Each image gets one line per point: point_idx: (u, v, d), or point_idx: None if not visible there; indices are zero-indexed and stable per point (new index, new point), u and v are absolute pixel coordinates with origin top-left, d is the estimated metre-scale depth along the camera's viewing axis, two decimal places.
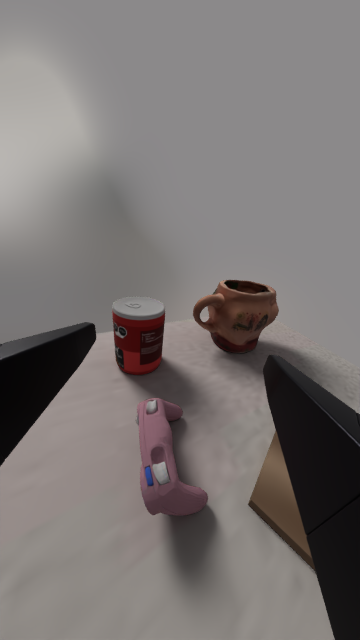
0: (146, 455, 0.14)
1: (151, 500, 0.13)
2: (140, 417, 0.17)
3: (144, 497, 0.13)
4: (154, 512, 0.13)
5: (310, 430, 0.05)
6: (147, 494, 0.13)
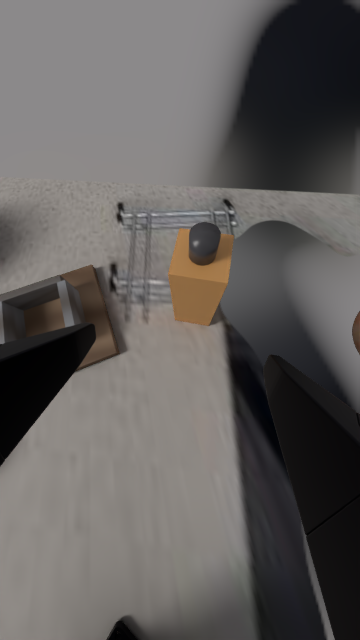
0: None
1: None
2: None
3: None
4: None
5: (310, 430, 0.05)
6: None
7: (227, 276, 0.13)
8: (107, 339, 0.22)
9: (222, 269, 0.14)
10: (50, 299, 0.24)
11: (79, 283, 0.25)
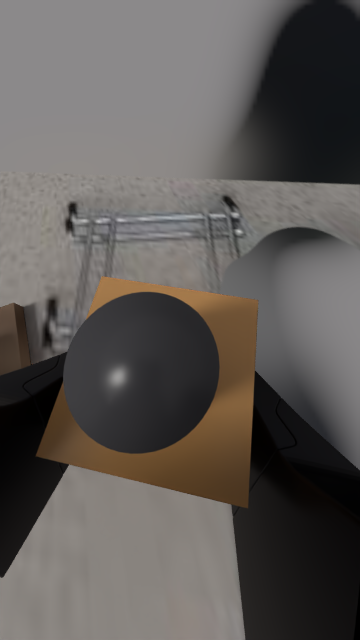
0: None
1: None
2: None
3: None
4: None
5: None
6: None
7: (244, 471, 0.04)
8: None
9: (227, 438, 0.04)
10: None
11: None
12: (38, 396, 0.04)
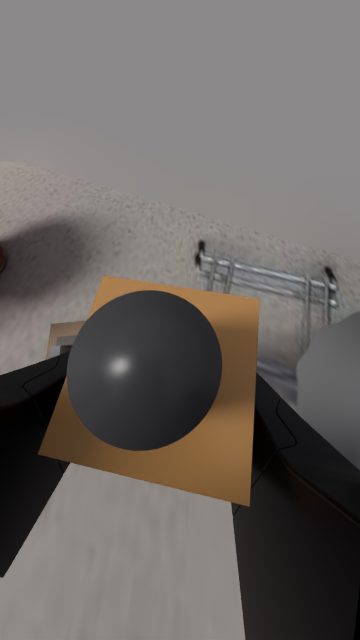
0: None
1: None
2: None
3: None
4: None
5: None
6: None
7: (246, 469, 0.04)
8: None
9: (229, 437, 0.04)
10: None
11: None
12: (38, 396, 0.04)
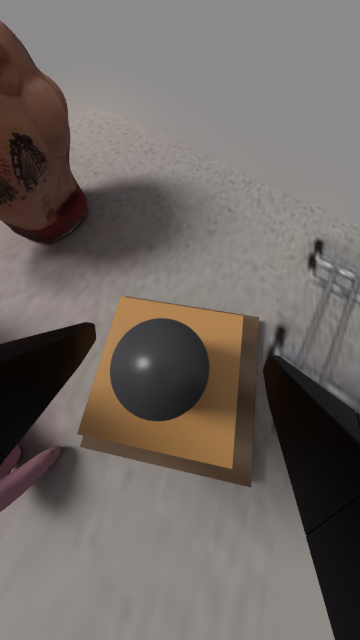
0: None
1: None
2: None
3: None
4: None
5: (310, 430, 0.05)
6: None
7: (230, 443, 0.05)
8: (244, 453, 0.14)
9: (218, 421, 0.05)
10: None
11: None
12: None
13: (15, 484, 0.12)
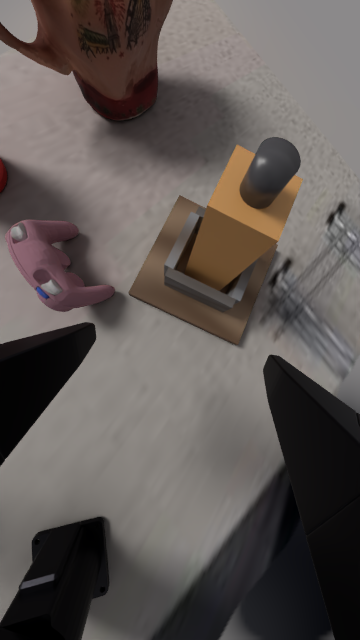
0: (31, 280, 0.15)
1: (55, 305, 0.16)
2: (9, 248, 0.15)
3: (48, 305, 0.16)
4: (64, 310, 0.17)
5: (310, 430, 0.05)
6: (49, 303, 0.16)
7: (280, 232, 0.10)
8: (239, 326, 0.21)
9: (277, 221, 0.10)
10: None
11: None
12: None
13: (92, 292, 0.18)
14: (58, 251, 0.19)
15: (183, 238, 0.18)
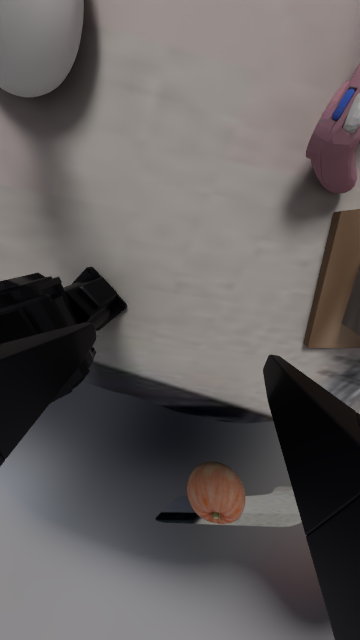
0: None
1: (320, 137, 0.11)
2: None
3: (317, 127, 0.11)
4: (310, 153, 0.12)
5: (310, 430, 0.05)
6: (322, 127, 0.11)
7: None
8: (328, 343, 0.20)
9: None
10: None
11: None
12: None
13: (347, 171, 0.12)
14: None
15: None
